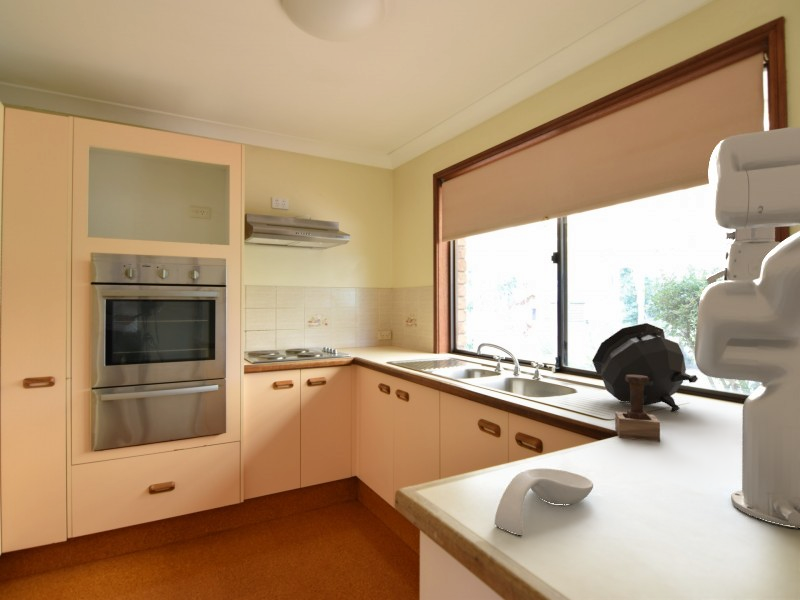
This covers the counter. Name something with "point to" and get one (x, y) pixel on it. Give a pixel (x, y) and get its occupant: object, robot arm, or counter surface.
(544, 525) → the counter surface
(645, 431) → the holder
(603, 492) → the counter surface
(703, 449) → the counter surface
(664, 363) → the black cauldron
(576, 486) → the spoon rest
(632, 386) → the bolt
